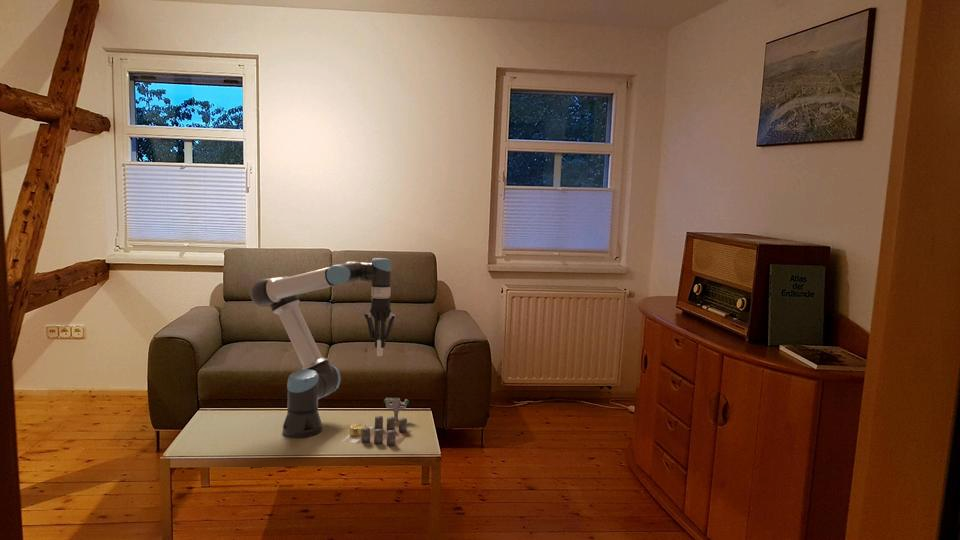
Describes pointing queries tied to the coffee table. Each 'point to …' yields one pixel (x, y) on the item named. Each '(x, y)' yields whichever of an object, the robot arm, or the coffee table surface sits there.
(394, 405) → the mechanical component
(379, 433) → the board
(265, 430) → the coffee table surface
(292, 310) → the robot arm
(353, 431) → the star-shaped block
